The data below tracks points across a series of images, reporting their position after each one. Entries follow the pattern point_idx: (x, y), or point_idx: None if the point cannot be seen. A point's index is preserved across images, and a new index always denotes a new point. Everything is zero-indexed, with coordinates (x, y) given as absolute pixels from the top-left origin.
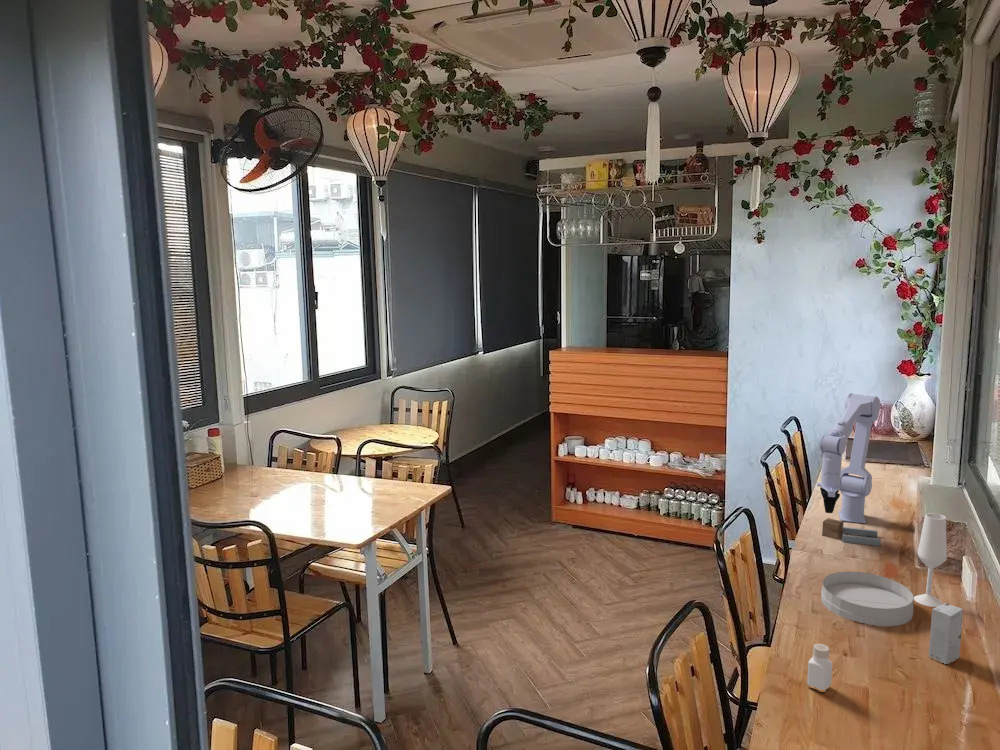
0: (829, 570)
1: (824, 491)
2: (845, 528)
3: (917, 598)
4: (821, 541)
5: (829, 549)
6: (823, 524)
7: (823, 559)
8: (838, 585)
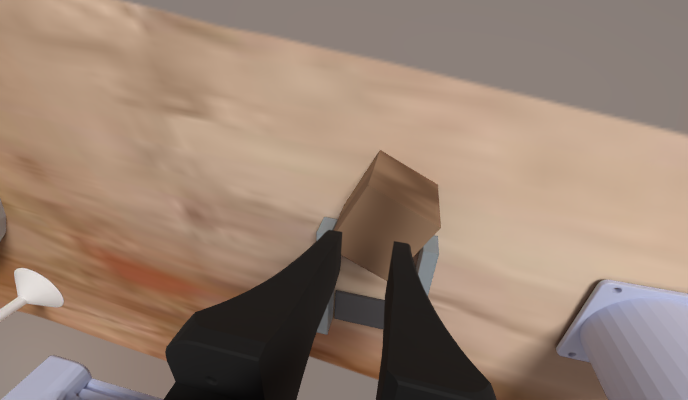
0: (31, 110)
1: (256, 386)
2: (419, 266)
3: (22, 275)
4: (301, 133)
5: (221, 149)
6: (369, 179)
7: (109, 105)
8: None
